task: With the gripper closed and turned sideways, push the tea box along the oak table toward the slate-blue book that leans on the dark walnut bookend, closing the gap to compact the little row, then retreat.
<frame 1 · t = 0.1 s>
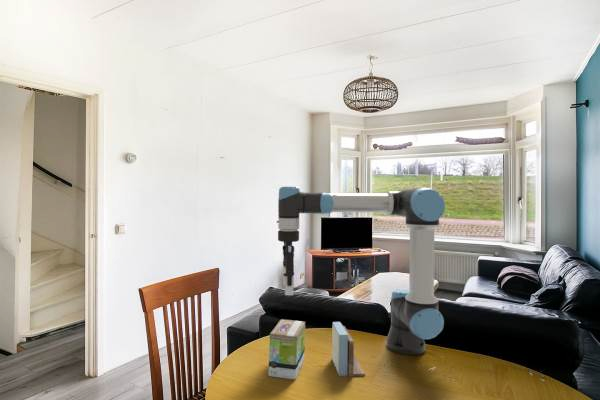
hand: (287, 289, 121), 28 cm above the table, fingers open, 13 cm apart
tea box: (287, 368, 122), on the table
book: (339, 366, 123), on the table
bookend: (346, 366, 123), on the table
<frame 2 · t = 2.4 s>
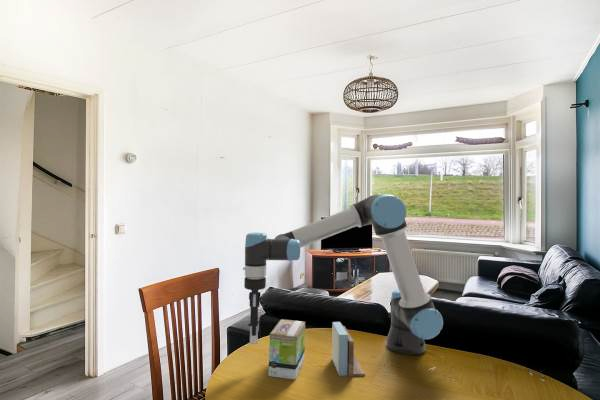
hand: (253, 343, 121), 9 cm above the table, fingers closed
nothing on the table moved.
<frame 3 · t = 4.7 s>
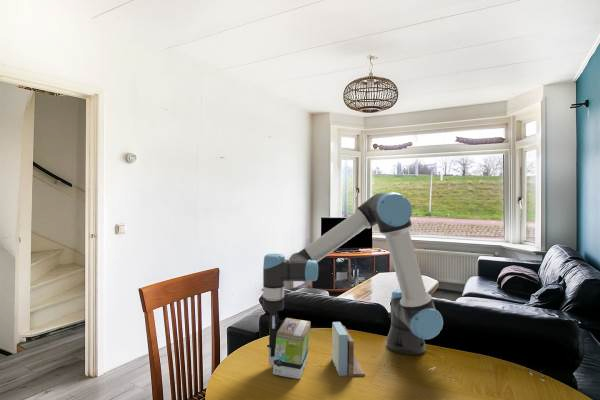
hand: (272, 363, 121), 1 cm above the table, fingers closed
tea box: (291, 367, 122), on the table, touching gripper, hand
everything else where it was.
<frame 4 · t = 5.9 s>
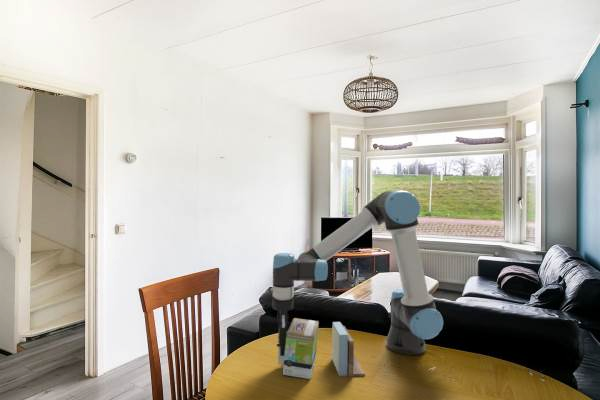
hand: (281, 362, 122), 2 cm above the table, fingers closed
tea box: (300, 367, 122), on the table, touching gripper, hand
everything else where it was.
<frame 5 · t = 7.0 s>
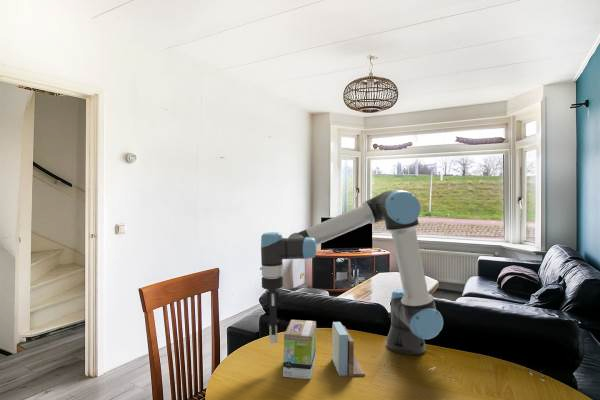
hand: (273, 342, 121), 9 cm above the table, fingers closed
tea box: (300, 368, 122), on the table
everything else where it was.
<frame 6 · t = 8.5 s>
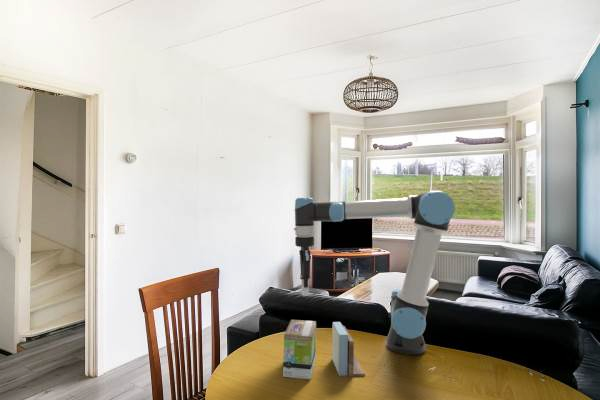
hand: (305, 294, 137), 22 cm above the table, fingers closed
nothing on the table moved.
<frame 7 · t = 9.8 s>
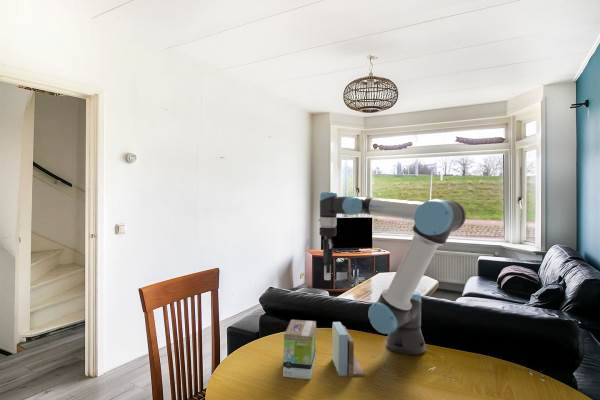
hand: (327, 279, 151), 24 cm above the table, fingers closed
nothing on the table moved.
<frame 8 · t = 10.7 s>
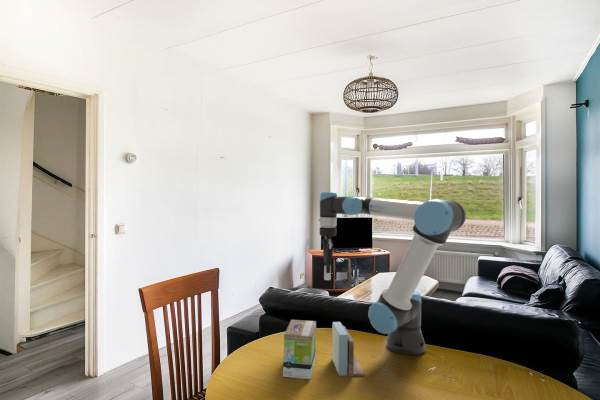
hand: (327, 279, 151), 24 cm above the table, fingers closed
nothing on the table moved.
at the end: tea box inside the target area (2.3 cm from its centre), on the table; tea box moved 4.5 cm from its start; book tilted 0° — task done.
